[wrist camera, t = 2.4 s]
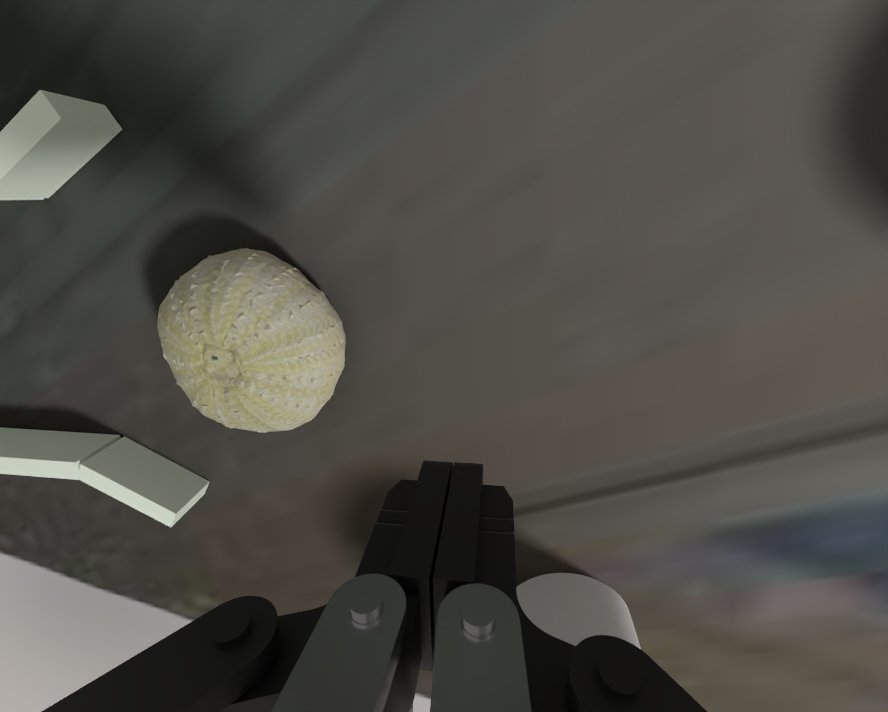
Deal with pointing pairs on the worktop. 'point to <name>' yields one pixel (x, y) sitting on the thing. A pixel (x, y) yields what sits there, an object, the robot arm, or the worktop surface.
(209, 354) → the sea urchin shell
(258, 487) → the worktop surface
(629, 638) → the cup
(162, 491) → the flared u-shaped rail
